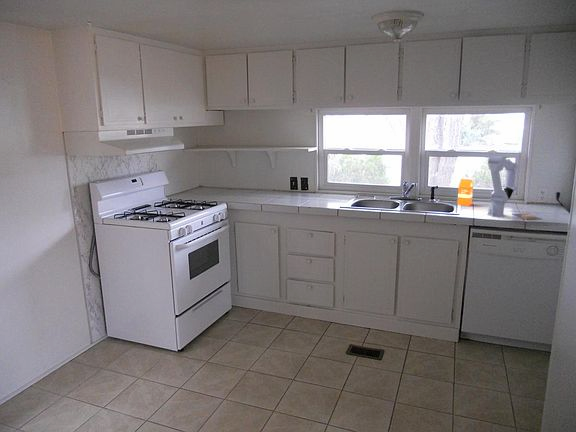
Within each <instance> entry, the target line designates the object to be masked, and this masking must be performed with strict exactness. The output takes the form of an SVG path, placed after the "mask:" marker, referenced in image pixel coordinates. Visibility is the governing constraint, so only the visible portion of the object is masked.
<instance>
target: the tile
mask: <svg viewBox="0 0 576 432" xmlns="http://www.w3.org/2000/svg"><path fill="white" fill-rule="evenodd" d="M524 214H525V215H521V218H520V219H522V218H524V219H523V220H525V219H535V217H536V216H535V215H533V216H532V214H529V213H524Z"/></svg>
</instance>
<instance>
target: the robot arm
mask: <svg viewBox="0 0 576 432" xmlns="http://www.w3.org/2000/svg"><path fill="white" fill-rule="evenodd" d="M487 165H488V166H487V167H488V169H489V170H490V175H491V180H492V186H493V191H492V192H491V193H490V201H491V203H489V205H488V208H487V209H488V210H487V216H490V217H492V218H494V217H498V218H499V217H506V215H505V214H504V211H505V204H507V203H508V200H509V199H511V197H512V194H513V193H514V191H517V187H516V185H515V178H516V174H517V170H518V164H517V163H515V162H513V161H511V159H510V158H509V159H508V158H507V157H506V156H499V155H490V156H488V159H487ZM503 169H505V171H506V173H505V181H504V183H502V180H501V174H500V172H501V171H504V170H503Z"/></svg>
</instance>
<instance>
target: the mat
mask: <svg viewBox="0 0 576 432" xmlns="http://www.w3.org/2000/svg"><path fill="white" fill-rule="evenodd" d="M525 214H526V213H511V215H512V216H515V217H517V218H520V219H523V220H526V221H527V220H528V221H529V220H532V221H534V220H542V218H540V217H538V216H535V219H524V218H521V215H525ZM531 215H532V214H531ZM532 216H534V215H532Z"/></svg>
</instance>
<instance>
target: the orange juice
mask: <svg viewBox="0 0 576 432" xmlns="http://www.w3.org/2000/svg"><path fill="white" fill-rule="evenodd" d="M473 193H474V185H473V179H467V178H466V179H465V178H461V179H460V182H459V185H458V193H457V205H460V206H468V207H470V206H471V205H472V203H473Z"/></svg>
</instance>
